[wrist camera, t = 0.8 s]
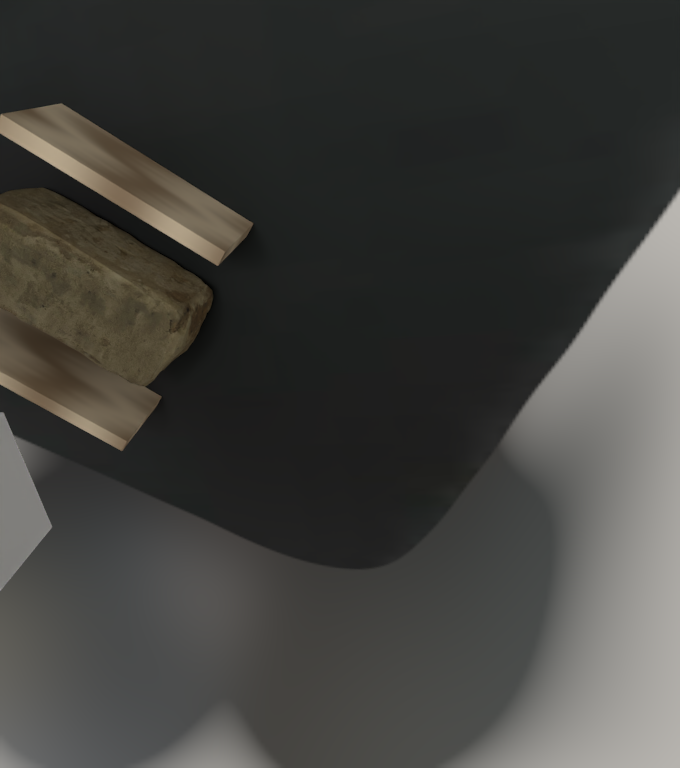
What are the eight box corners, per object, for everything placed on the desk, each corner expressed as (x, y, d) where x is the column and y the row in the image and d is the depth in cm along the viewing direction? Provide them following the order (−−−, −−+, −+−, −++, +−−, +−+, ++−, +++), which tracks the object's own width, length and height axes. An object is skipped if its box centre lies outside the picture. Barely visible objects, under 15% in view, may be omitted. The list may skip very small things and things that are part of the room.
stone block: (35, 172, 34) (-25, 192, 29) (226, 283, 35) (197, 318, 31) (9, 261, 36) (-49, 292, 32) (187, 360, 38) (155, 402, 34)
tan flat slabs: (-6, 313, 38) (-64, 349, 34) (61, 103, 31) (1, 114, 27) (157, 405, 39) (122, 451, 35) (253, 223, 33) (225, 251, 29)
